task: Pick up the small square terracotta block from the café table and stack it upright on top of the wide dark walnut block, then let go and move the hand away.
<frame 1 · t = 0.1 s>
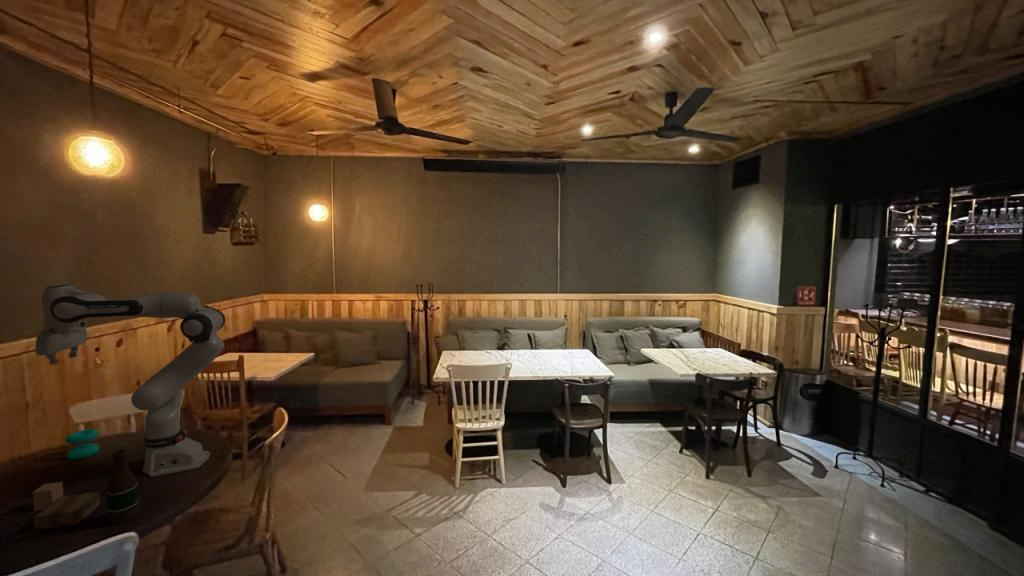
hand: (63, 360, 155), 48 cm above the table, tool pointing down, fingers open, 8 cm apart
beer bottle: (124, 517, 137), on the table
walnut block: (69, 517, 137), on the table
terracotta block: (49, 505, 142), on the table
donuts: (83, 454, 175), on the table
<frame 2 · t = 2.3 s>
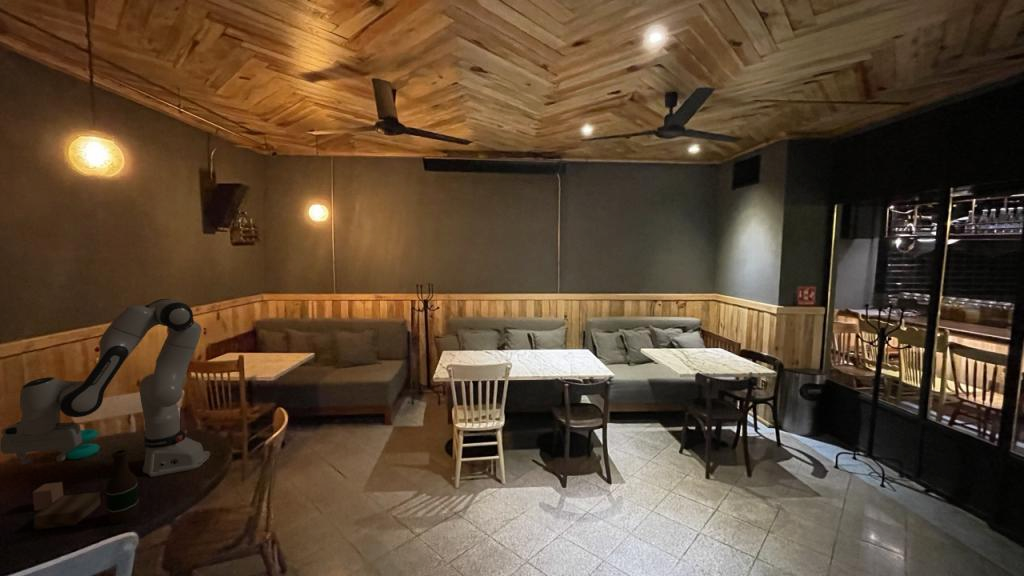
hand: (44, 461, 140), 17 cm above the table, tool pointing down, fingers open, 8 cm apart
nothing on the table moved.
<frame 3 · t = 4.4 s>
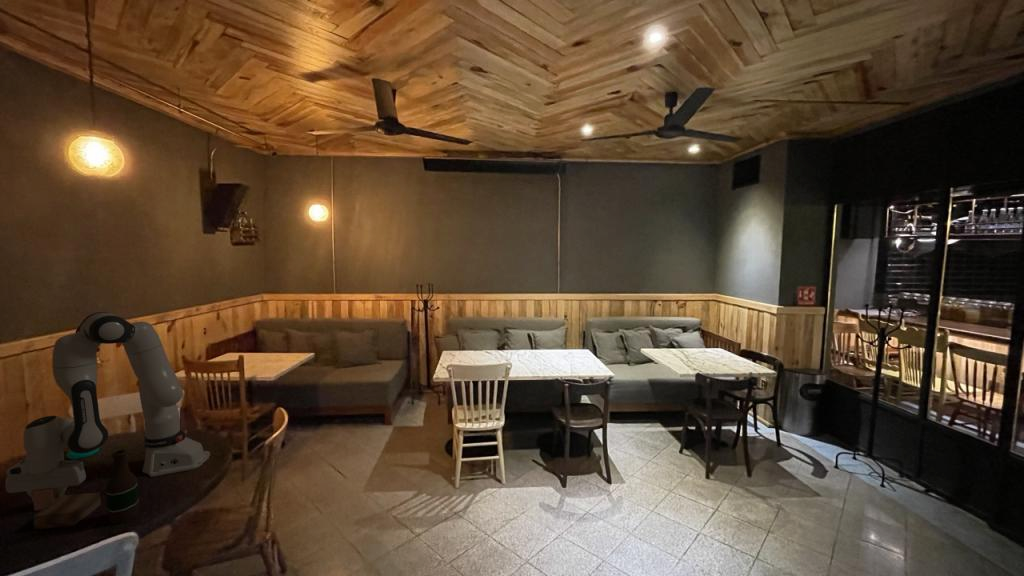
hand: (48, 498, 142), 2 cm above the table, tool pointing down, fingers closed on terracotta block, 5 cm apart
terracotta block: (49, 505, 142), on the table, touching gripper
everything else where it was.
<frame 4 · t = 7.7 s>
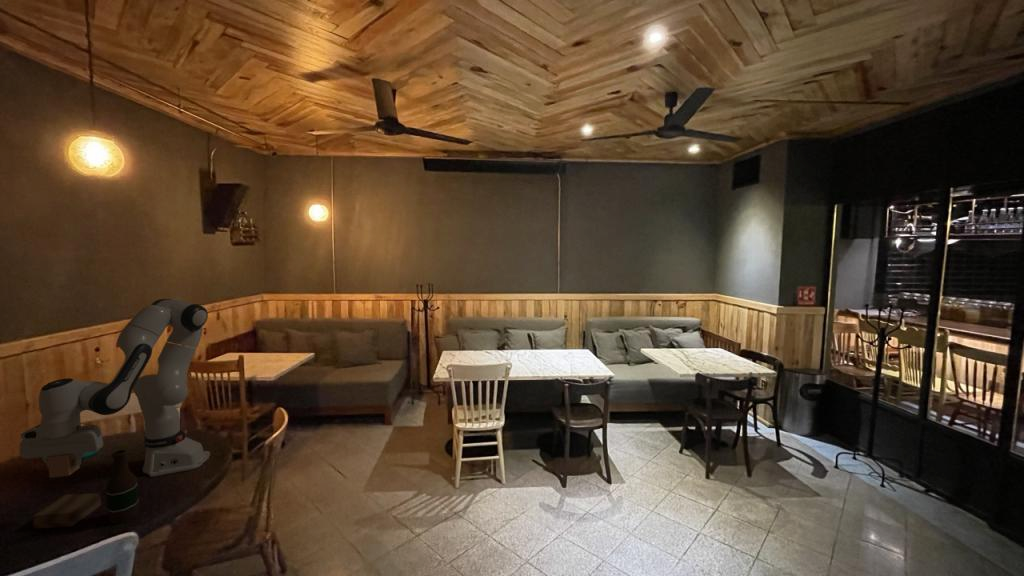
hand: (64, 466, 135), 18 cm above the table, tool pointing down, fingers closed on terracotta block, 5 cm apart
terracotta block: (65, 472, 135), point 16 cm above the table, touching gripper
everything else where it was.
when the fingers open (8 cm above the table, at t = 11.0 s): terracotta block drops 2 cm, resting on walnut block.
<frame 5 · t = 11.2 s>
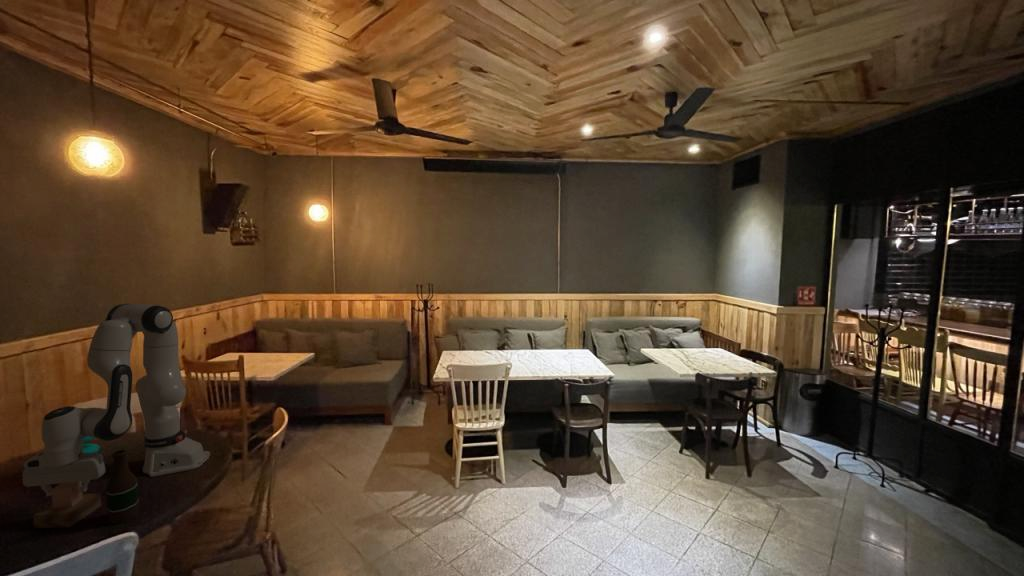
hand: (67, 493, 136), 8 cm above the table, tool pointing down, fingers open, 7 cm apart
walnut block: (69, 517, 137), on the table, touching terracotta block
terracotta block: (68, 503, 136), point 5 cm above the table, touching walnut block
everything else where it was.
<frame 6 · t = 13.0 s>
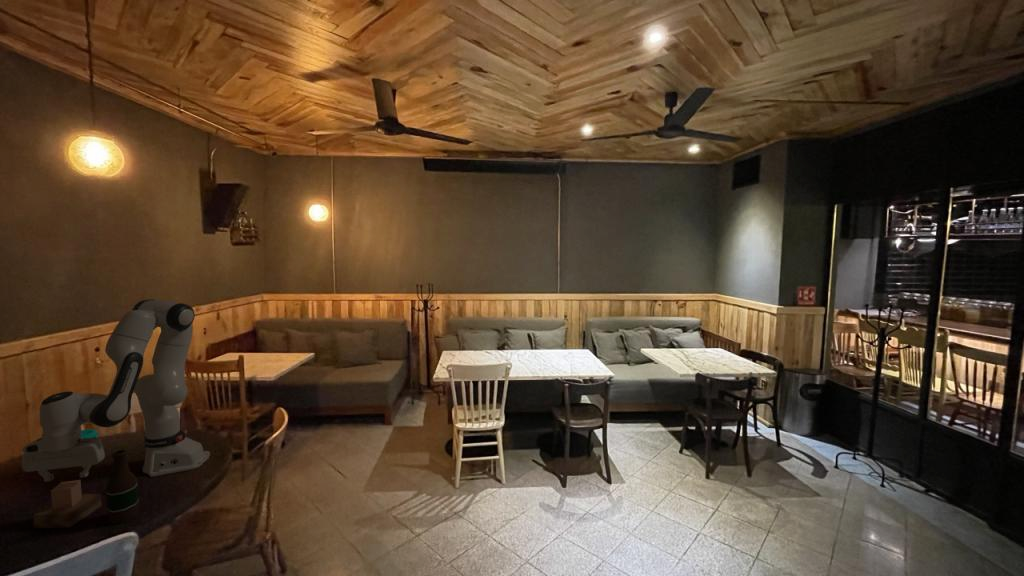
hand: (67, 478, 136), 14 cm above the table, tool pointing down, fingers open, 8 cm apart
walnut block: (69, 517, 137), on the table
terracotta block: (67, 504, 136), point 5 cm above the table
everything else where it was.
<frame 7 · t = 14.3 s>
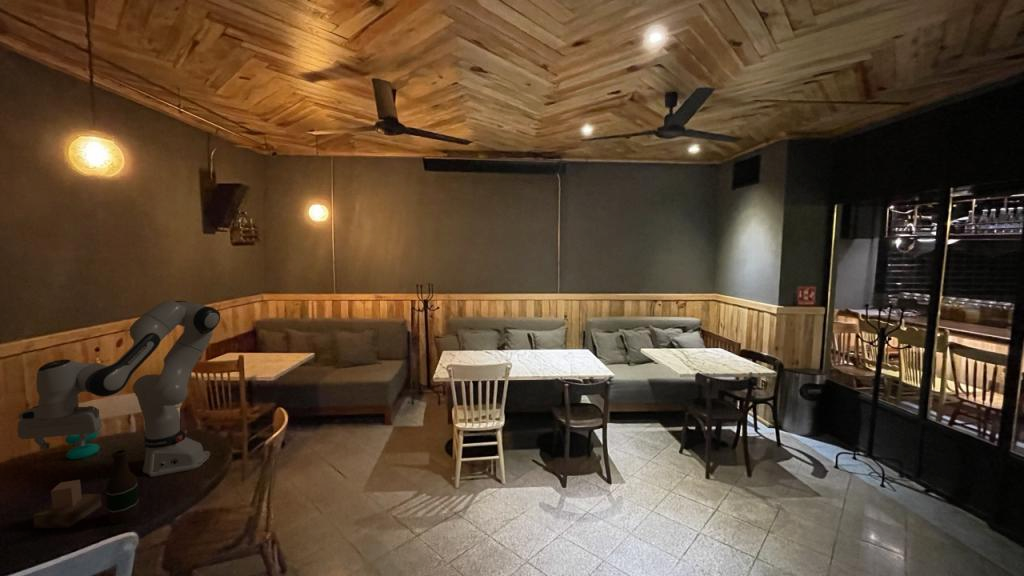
hand: (63, 447, 135), 25 cm above the table, tool pointing down, fingers open, 8 cm apart
walnut block: (69, 517, 137), on the table, touching terracotta block
terracotta block: (67, 504, 136), point 5 cm above the table, touching walnut block
everything else where it was.
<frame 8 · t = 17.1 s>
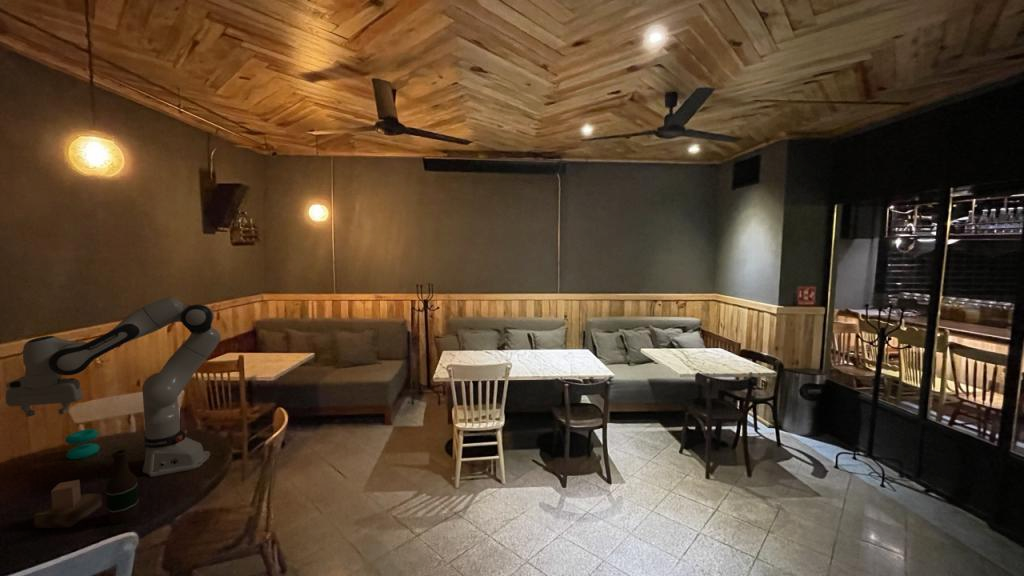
hand: (46, 414, 149), 29 cm above the table, tool pointing down, fingers open, 8 cm apart
walnut block: (69, 517, 137), on the table
terracotta block: (67, 504, 136), point 5 cm above the table
everything else where it was.
at the end: terracotta block inside the target area on the walnut block (0.3 cm from its centre), point 5.0 cm above the walnut block's base; terracotta block tilted 0°; the gripper is holding nothing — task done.
